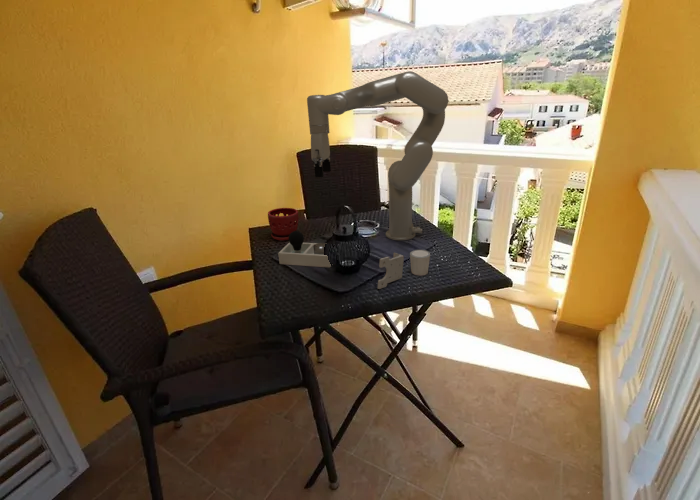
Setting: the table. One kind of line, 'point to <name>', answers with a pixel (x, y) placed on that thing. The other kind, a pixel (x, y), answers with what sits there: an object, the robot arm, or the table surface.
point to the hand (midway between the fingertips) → (323, 174)
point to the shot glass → (419, 262)
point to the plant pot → (283, 222)
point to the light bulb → (296, 240)
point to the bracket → (391, 269)
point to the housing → (305, 255)
